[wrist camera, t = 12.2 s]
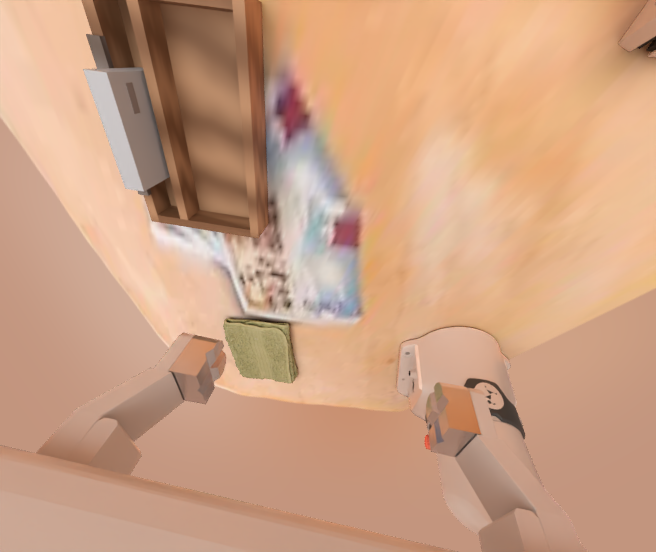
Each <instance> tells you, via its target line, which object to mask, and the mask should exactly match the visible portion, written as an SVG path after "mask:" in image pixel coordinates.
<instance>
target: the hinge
mask: <svg viewBox="0 0 656 552" xmlns="http://www.w3.org/2000/svg"><path fill="white" fill-rule="evenodd" d="M650 42H652V43H651V44H650V45H649V47H648V48H647V49H646V50H647V51H651V52H650V53H649V54H648V56H647V57H656V0H648V2H647V3H646V5H645V6H644V8H643V9H642V10H641V12H640V13H639V15H638V16H637V17H636V19H635V20H634V22H633V23H632V25H631V26H630V27H629V29H628V30H627V32H626V33H625V34H624V36H623V37H622V39H621V40H620V42H619V43H618V45H620V46H621V47H622V48H624V49H625V50H627V51H628V52H630V51H632V50H634V49H635V48H639V49H640V48H642V47H643V46H645V45H647V44H648V43H650Z"/></svg>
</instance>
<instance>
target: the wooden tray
mask: <svg viewBox="0 0 656 552" xmlns="http://www.w3.org/2000/svg"><path fill="white" fill-rule="evenodd" d="M82 3H83V6H84V9H85V12H86V16H87V19H88V22H89V25H90V28H91V31H92V34H93V35H90V34H86V36H87V39H88V42H89V45H90V48H91V51H92V54H93V57H94V60H95V63H96V66H97V69H105V68H134V67H141V68H143V70H144V74H145V78H146V82H147V86H148V90H149V95H150V99H151V103H152V107H153V111H154V115H155V119H156V123H157V127H158V131H159V135H160V139H161V143H162V147H163V151H164V155H165V159H166V163H167V167H168V171H169V175H170V177H169V178H167V179H165V180H163V181H162V182H160V183H158V184H156V185H155V186H153V187H151V188H149V189H148V190H146V191H144V192H143V191H138V194H140V195H144V198H145V201H146V204H147V207H148V210H149V213H150V216H151V220H152V221H155V222H161V223H167V224H173V225H179V226H186V227H192V228H198V229H204V230H210V231H216V232H222V233H229V234H235V235H241V236H247V237H253V238H259V237H260V235H261V234H262V232H263V231H264V229H265V228H266V226H267V225H268V223H269V222H268V191H267V160H266V129H265V98H264V67H263V36H262V5H261V2H260V1H258V0H82Z"/></svg>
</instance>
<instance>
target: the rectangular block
mask: <svg viewBox="0 0 656 552" xmlns="http://www.w3.org/2000/svg"><path fill="white" fill-rule="evenodd" d="M83 70H84V73H85V76H86V79H87V82H88V85H89V87H90V90H91V93H92V96H93V99H94V101H95V104H96V107H97V110H98V113H99V116H100V118H101V121H102V124H103V127H104V130H105V132H106V135H107V138H108V141H109V144H110V146H111V149H112V152H113V155H114V158H115V161H116V163H117V166H118V169H119V172H120V175H121V177H122V180H123V183H124V186H125V189H131V190H137V191H143V192H144V191H146V190H148V189H149V188H151V187H153V186H155V185H156V184H158V183H160V182H162V181H163V180H165V179H167V178H169V177H170V175H169V171H168V167H167V163H166V159H165V155H164V151H163V147H162V143H161V139H160V135H159V131H158V127H157V123H156V119H155V115H154V111H153V107H152V103H151V99H150V95H149V90H148V86H147V82H146V78H145V74H144V70H143V68H141V67H134V68H105V69H83Z"/></svg>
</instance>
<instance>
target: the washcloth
mask: <svg viewBox="0 0 656 552" xmlns="http://www.w3.org/2000/svg"><path fill="white" fill-rule="evenodd" d="M223 327H224V330H225V336H226V337H225V338H226V341H227V342H228V344H229V346H230V349H231V352H232V354H233V357H234V360H235V363H236V366H237V368H238V370H239V371H240V374H241V375H242V376H243V377H247V378H256V379H264V378H266V379H272V380H275V381H278V382H284V383H293V381H294V380H295V378H296V377H297V375H298V372H297V367H296V364H295V360H294V355H293V351H292V343H291V341H290V335H289V334H290V329H289V328H290V326H289V324H288V323H268V322H262V321H259V320H257V321H256V320H237V319H236V320H235V319H229V318H227V319H225V321H224V325H223Z"/></svg>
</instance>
